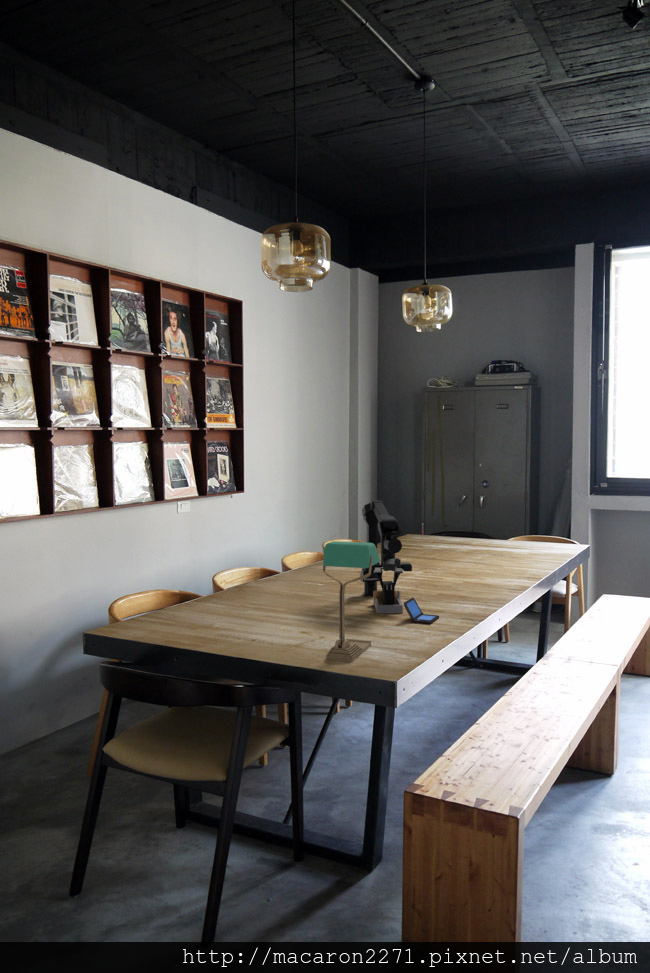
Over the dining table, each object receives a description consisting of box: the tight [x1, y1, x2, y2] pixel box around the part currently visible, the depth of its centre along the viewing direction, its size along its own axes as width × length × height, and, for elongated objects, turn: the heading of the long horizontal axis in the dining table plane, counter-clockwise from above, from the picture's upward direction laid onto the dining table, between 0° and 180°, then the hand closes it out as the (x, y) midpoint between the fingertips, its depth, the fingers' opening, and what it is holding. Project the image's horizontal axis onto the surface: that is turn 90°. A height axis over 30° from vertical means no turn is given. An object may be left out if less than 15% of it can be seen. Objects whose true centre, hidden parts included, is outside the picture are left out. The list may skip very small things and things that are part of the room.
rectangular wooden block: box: [372, 589, 402, 606], centre depth 311 cm, size 11×2×6 cm, turn 93°
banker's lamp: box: [322, 540, 381, 663], centre depth 240 cm, size 16×21×35 cm
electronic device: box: [381, 580, 395, 605], centre depth 303 cm, size 4×10×10 cm, turn 1°
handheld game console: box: [403, 597, 440, 625], centre depth 284 cm, size 12×11×7 cm
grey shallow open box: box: [374, 598, 404, 614], centre depth 303 cm, size 14×10×3 cm
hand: (388, 588), depth 303 cm, fingers open, 4 cm apart
